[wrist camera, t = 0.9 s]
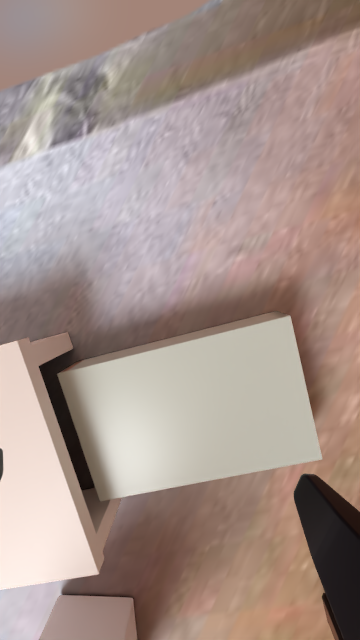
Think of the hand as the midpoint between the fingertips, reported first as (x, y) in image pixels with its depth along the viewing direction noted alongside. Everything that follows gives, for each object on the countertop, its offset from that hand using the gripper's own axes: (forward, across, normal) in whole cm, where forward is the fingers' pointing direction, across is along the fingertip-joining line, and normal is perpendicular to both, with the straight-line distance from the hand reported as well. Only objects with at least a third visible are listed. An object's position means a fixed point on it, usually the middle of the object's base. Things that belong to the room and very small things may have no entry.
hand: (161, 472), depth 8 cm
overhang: (+12, +8, +11) cm, 19 cm away
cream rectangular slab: (+11, -3, +5) cm, 13 cm away
